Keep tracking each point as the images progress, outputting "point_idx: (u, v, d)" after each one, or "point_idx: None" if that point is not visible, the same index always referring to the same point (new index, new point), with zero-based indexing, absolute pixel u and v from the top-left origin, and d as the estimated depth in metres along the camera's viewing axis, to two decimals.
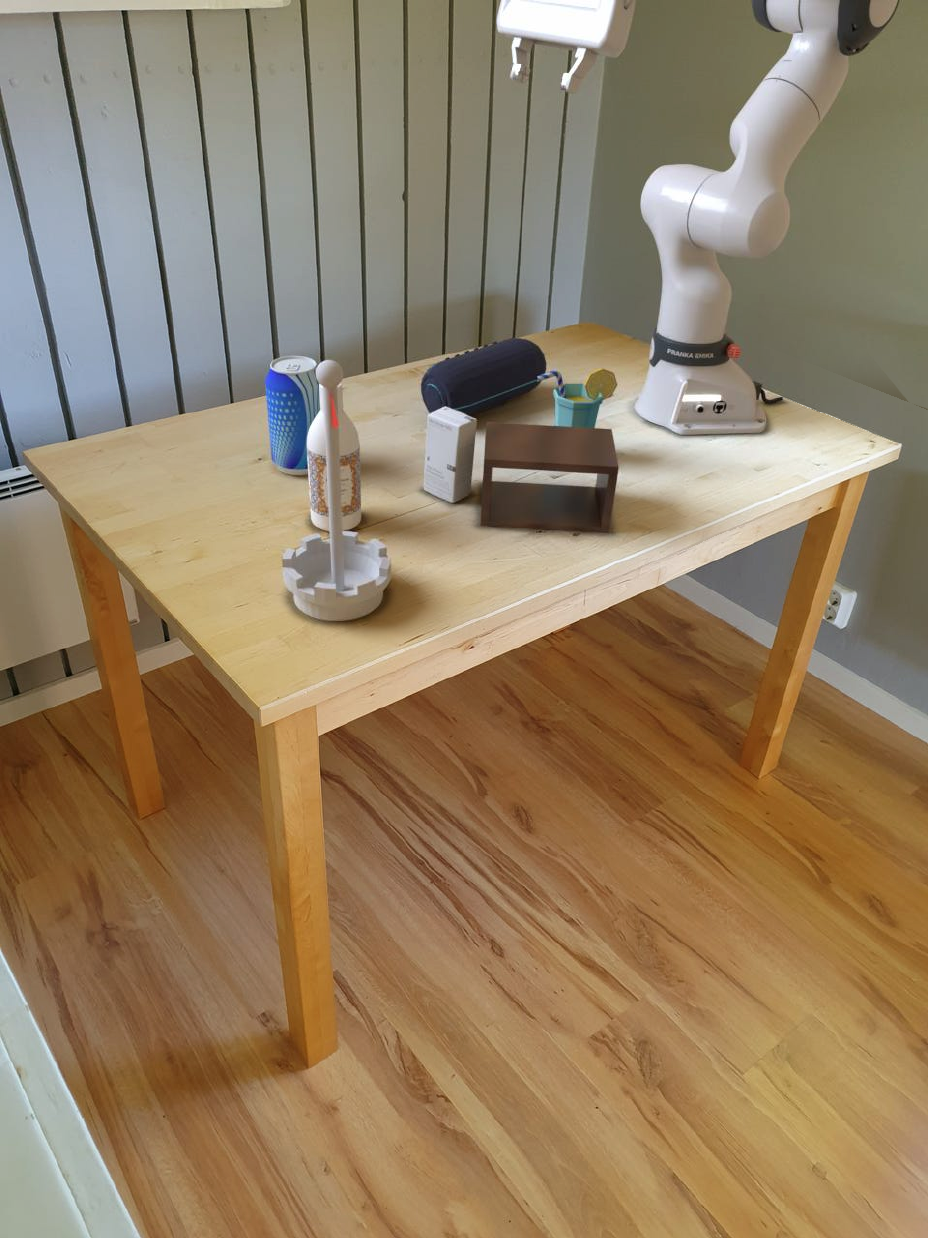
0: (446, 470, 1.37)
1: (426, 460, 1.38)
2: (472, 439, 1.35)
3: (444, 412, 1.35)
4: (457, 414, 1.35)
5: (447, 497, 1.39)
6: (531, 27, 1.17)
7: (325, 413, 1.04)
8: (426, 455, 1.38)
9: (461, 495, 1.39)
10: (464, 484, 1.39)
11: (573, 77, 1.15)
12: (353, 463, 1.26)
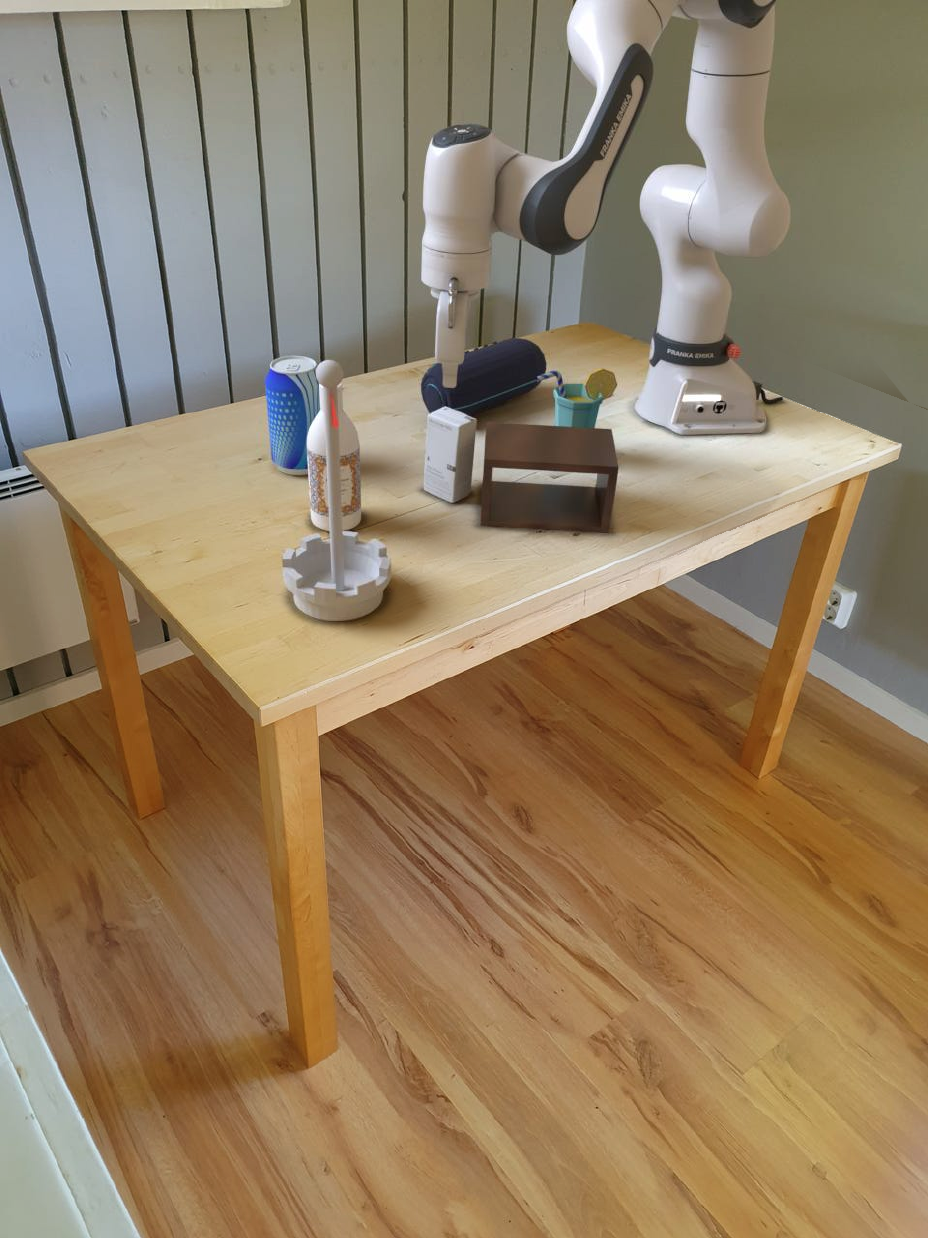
0: (446, 470, 1.37)
1: (426, 460, 1.38)
2: (472, 439, 1.35)
3: (444, 412, 1.35)
4: (457, 414, 1.35)
5: (447, 497, 1.39)
6: None
7: (325, 413, 1.04)
8: (426, 455, 1.38)
9: (461, 495, 1.39)
10: (464, 484, 1.39)
11: (445, 376, 1.25)
12: (353, 463, 1.26)
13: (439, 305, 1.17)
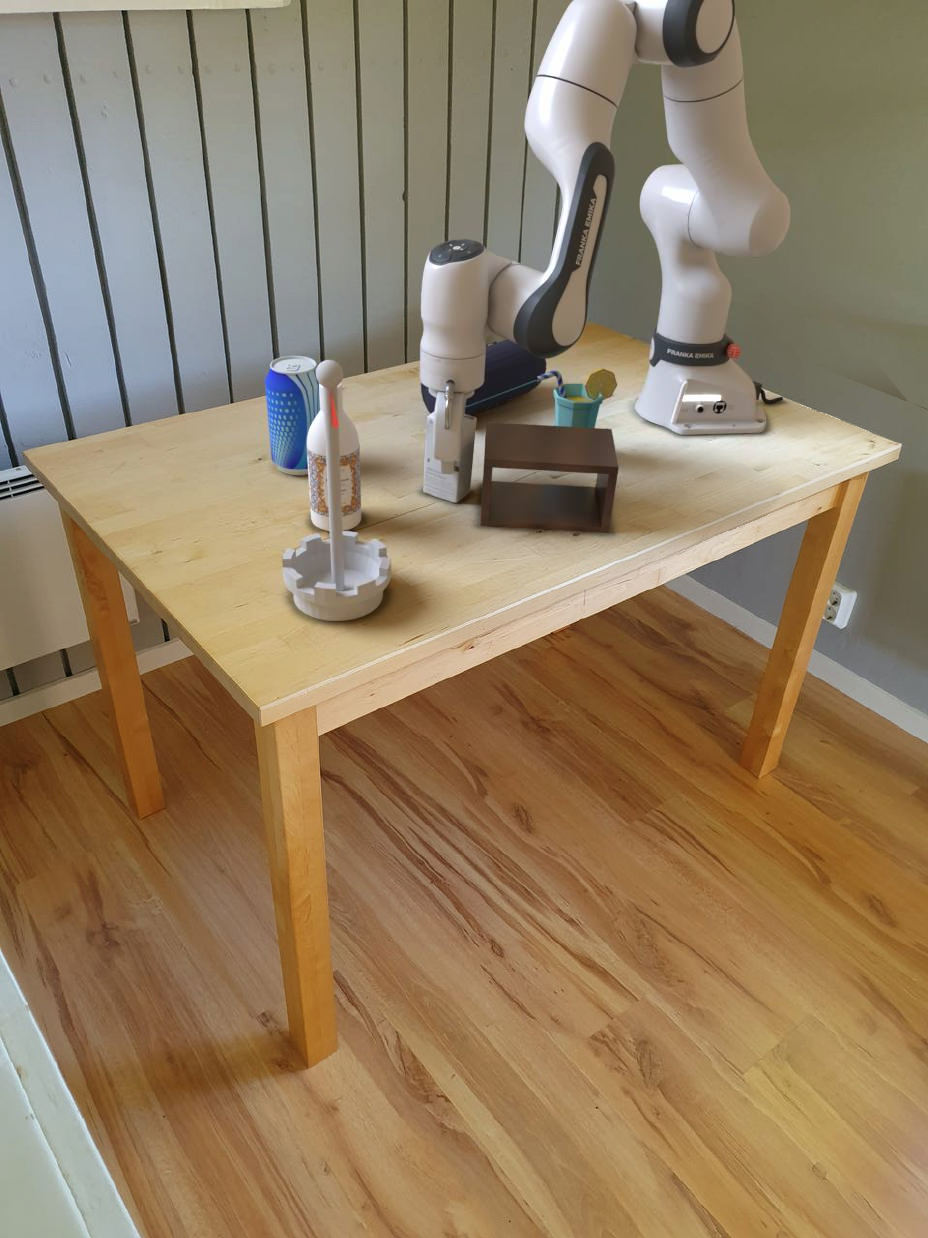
0: None
1: (426, 462, 1.38)
2: (472, 438, 1.36)
3: None
4: None
5: (450, 497, 1.39)
6: None
7: (325, 413, 1.04)
8: (426, 457, 1.38)
9: (463, 494, 1.40)
10: (465, 483, 1.39)
11: (443, 464, 1.34)
12: (353, 463, 1.26)
13: (436, 408, 1.25)
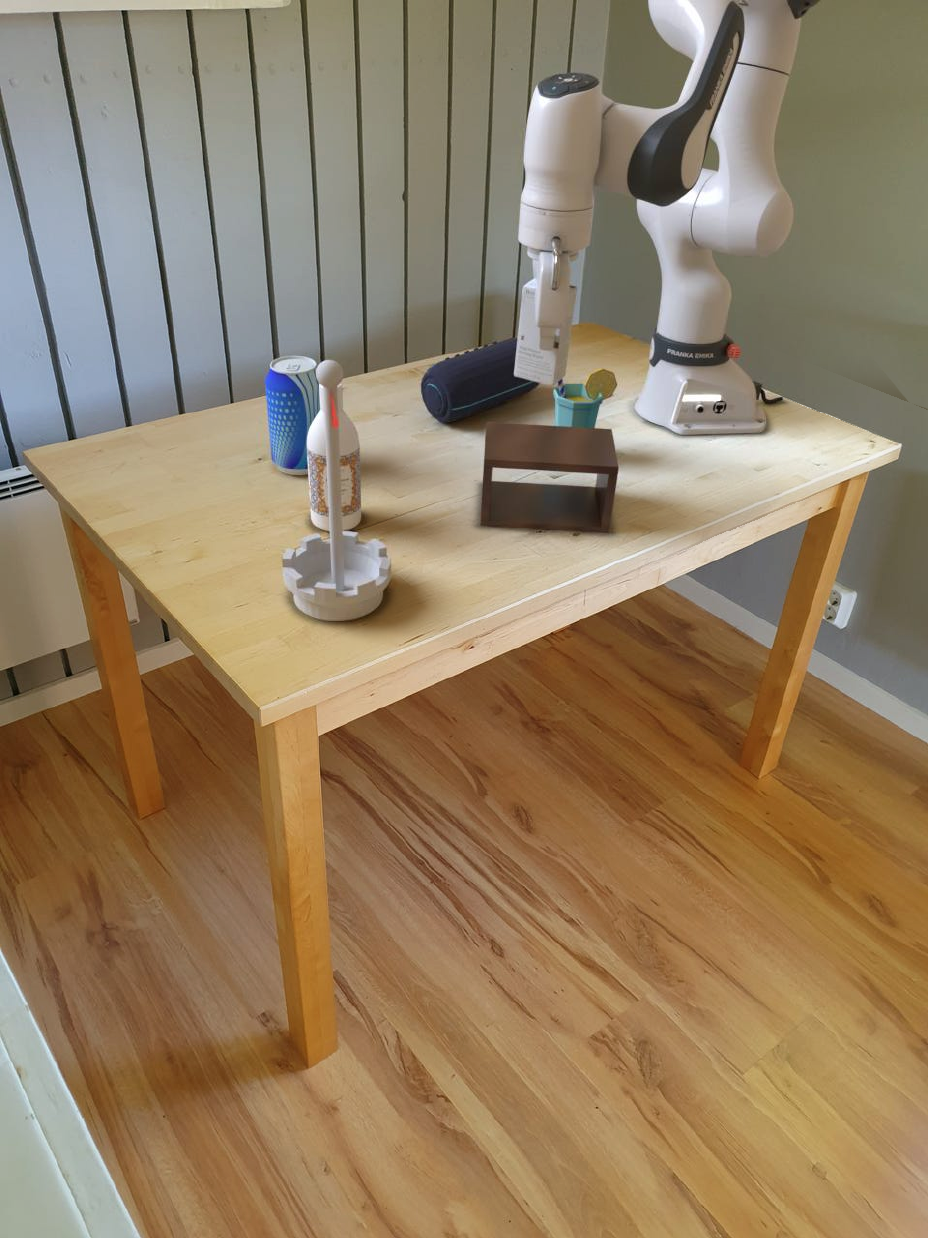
0: None
1: (519, 340, 1.24)
2: (572, 310, 1.23)
3: None
4: None
5: (546, 379, 1.25)
6: None
7: (325, 413, 1.04)
8: (519, 334, 1.24)
9: (559, 377, 1.26)
10: (562, 363, 1.26)
11: (542, 338, 1.21)
12: (353, 463, 1.26)
13: (542, 265, 1.11)
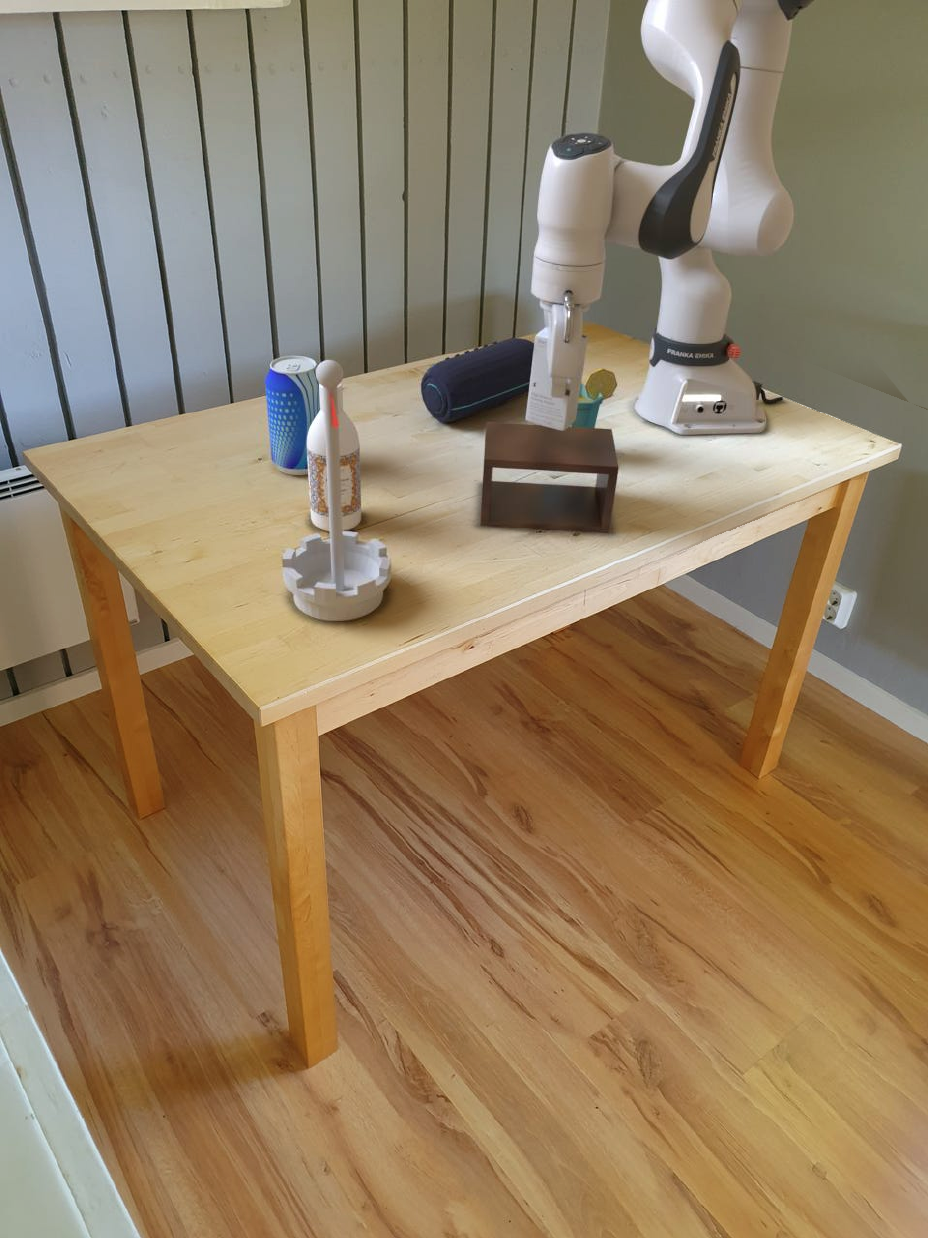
0: None
1: (531, 387, 1.27)
2: (583, 358, 1.26)
3: None
4: None
5: (557, 425, 1.28)
6: None
7: (325, 413, 1.04)
8: (531, 381, 1.27)
9: (570, 422, 1.29)
10: (573, 409, 1.29)
11: (554, 386, 1.24)
12: (353, 463, 1.26)
13: (555, 319, 1.14)
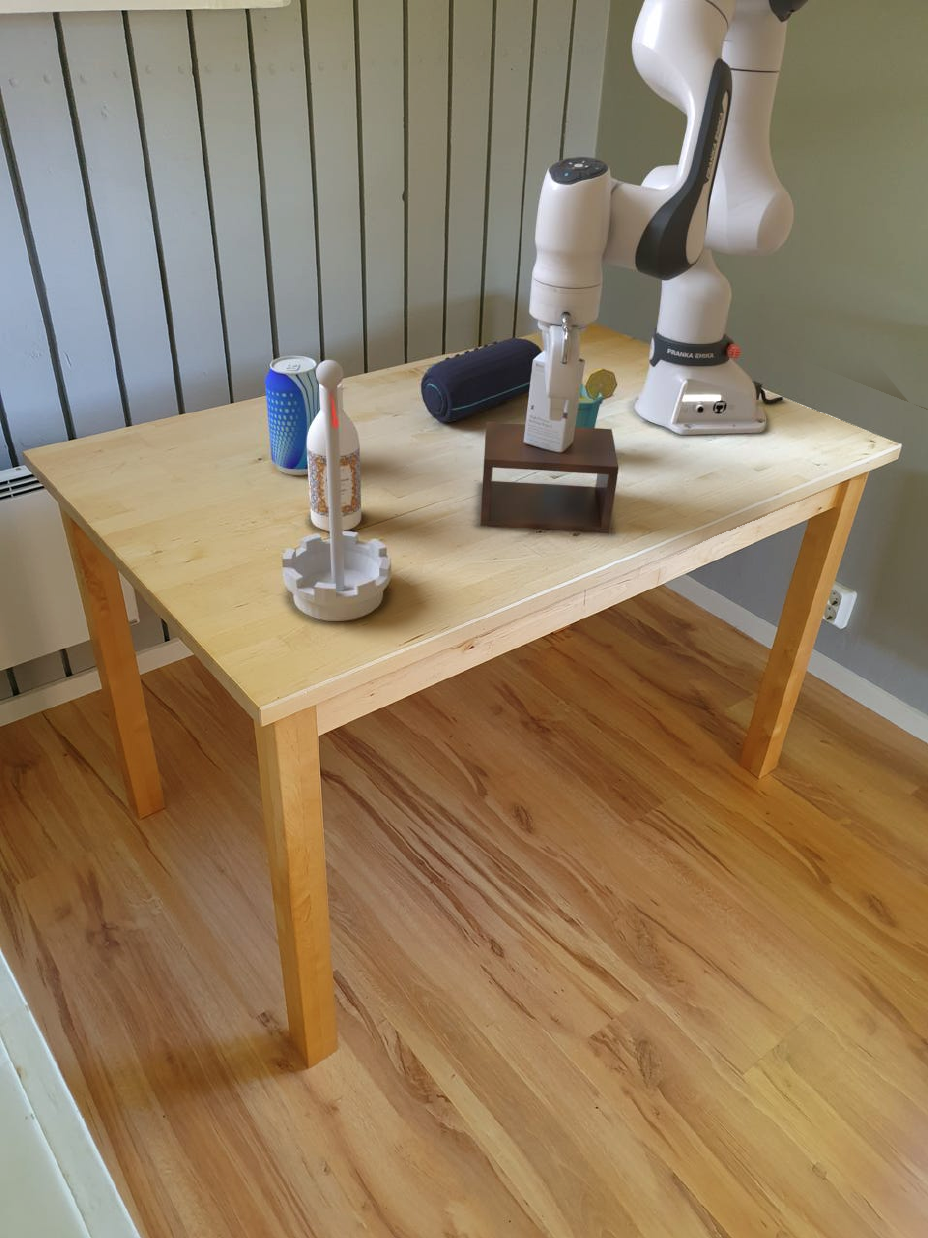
0: None
1: (529, 409, 1.29)
2: (580, 382, 1.28)
3: None
4: None
5: (555, 447, 1.30)
6: None
7: (325, 413, 1.04)
8: (529, 404, 1.29)
9: (567, 444, 1.31)
10: (570, 431, 1.31)
11: (552, 409, 1.24)
12: (353, 463, 1.26)
13: (553, 341, 1.16)
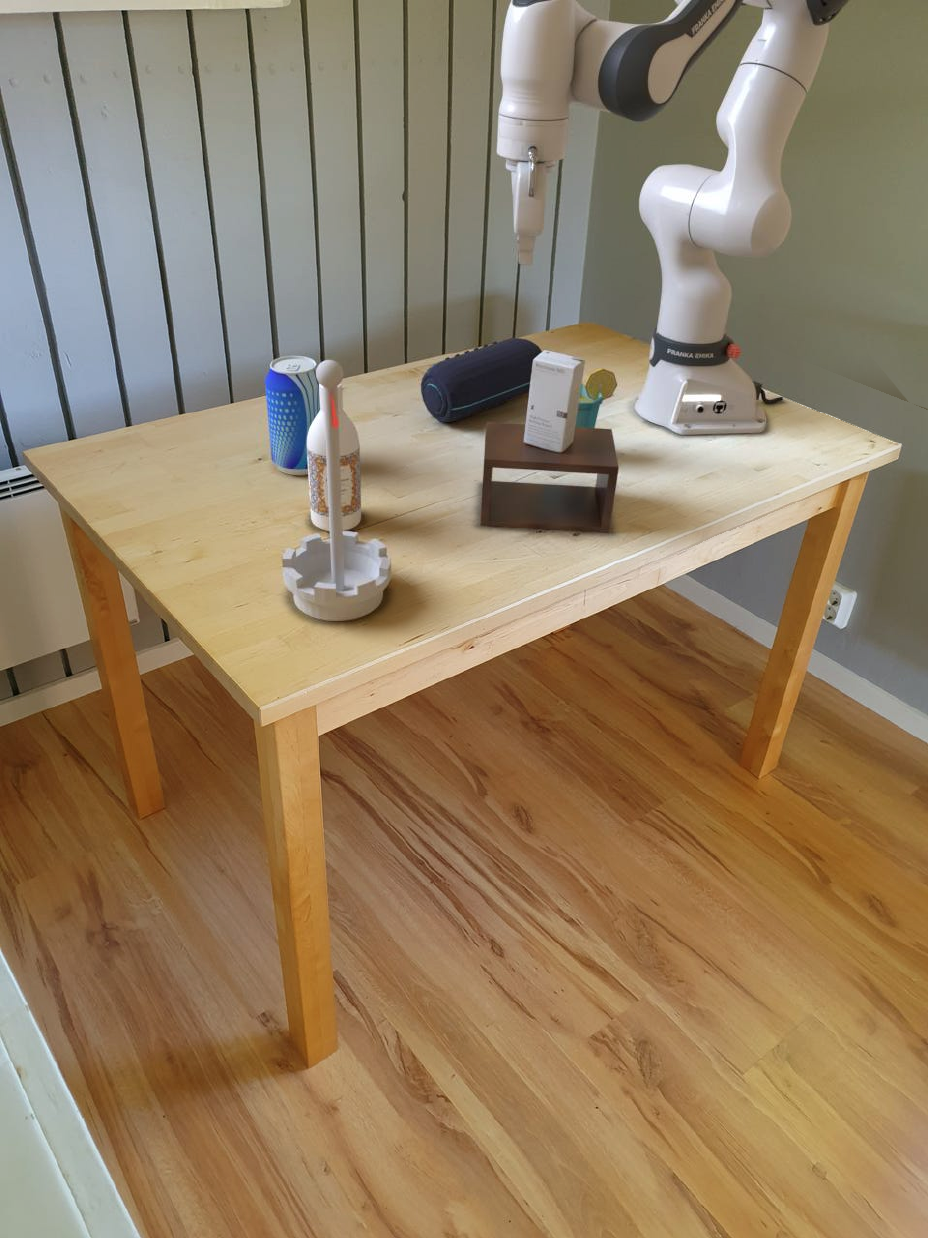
0: (555, 417, 1.28)
1: (529, 409, 1.29)
2: (580, 382, 1.28)
3: (549, 355, 1.26)
4: (563, 356, 1.26)
5: (555, 447, 1.30)
6: (513, 202, 1.28)
7: (325, 413, 1.04)
8: (529, 404, 1.29)
9: (567, 444, 1.31)
10: (570, 431, 1.31)
11: (521, 253, 1.24)
12: (353, 463, 1.26)
13: (520, 172, 1.15)
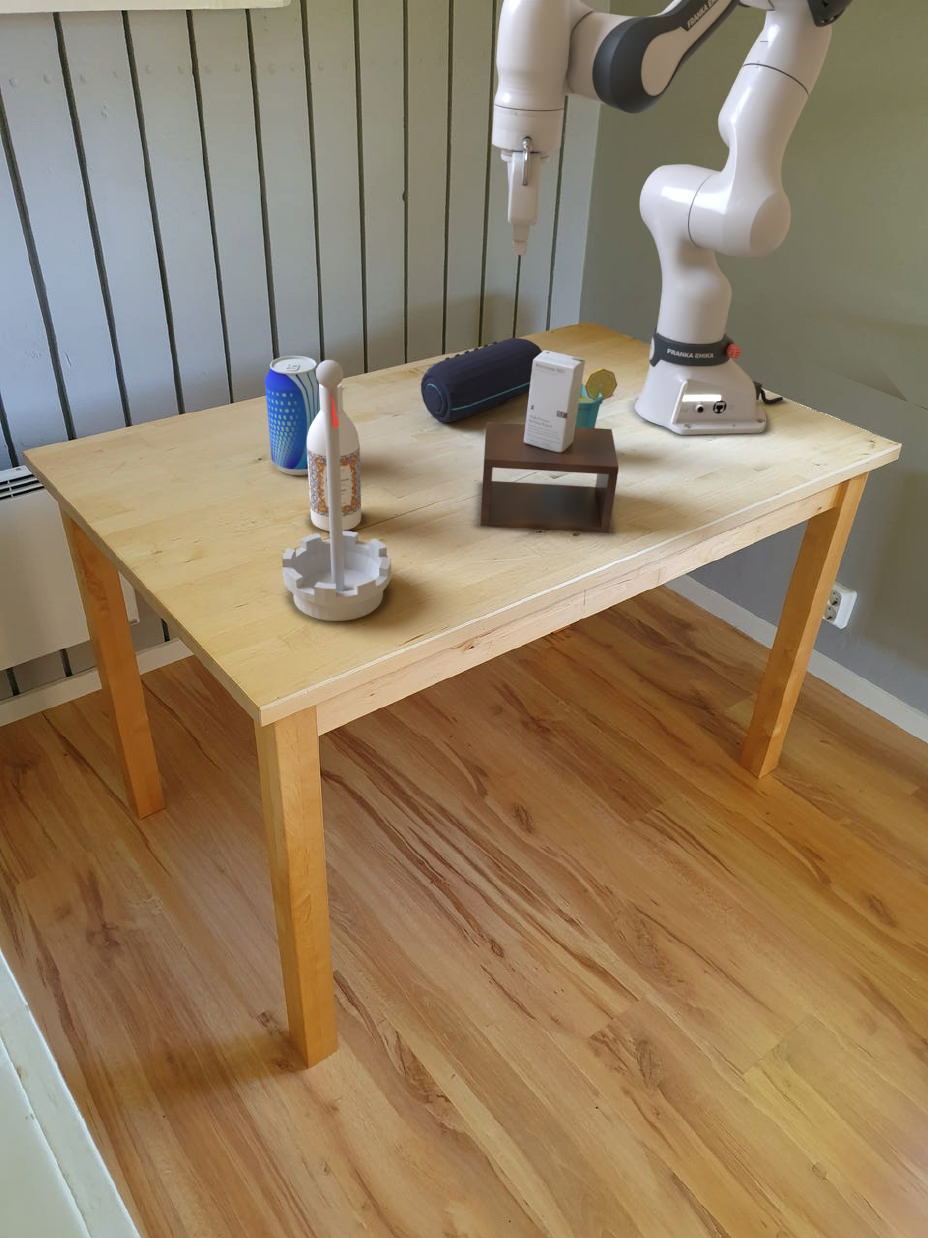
0: (555, 417, 1.28)
1: (529, 409, 1.29)
2: (580, 382, 1.28)
3: (549, 355, 1.26)
4: (563, 356, 1.26)
5: (555, 447, 1.30)
6: None
7: (325, 413, 1.04)
8: (529, 404, 1.29)
9: (567, 444, 1.31)
10: (570, 431, 1.31)
11: (515, 243, 1.25)
12: (353, 463, 1.26)
13: (514, 162, 1.16)
